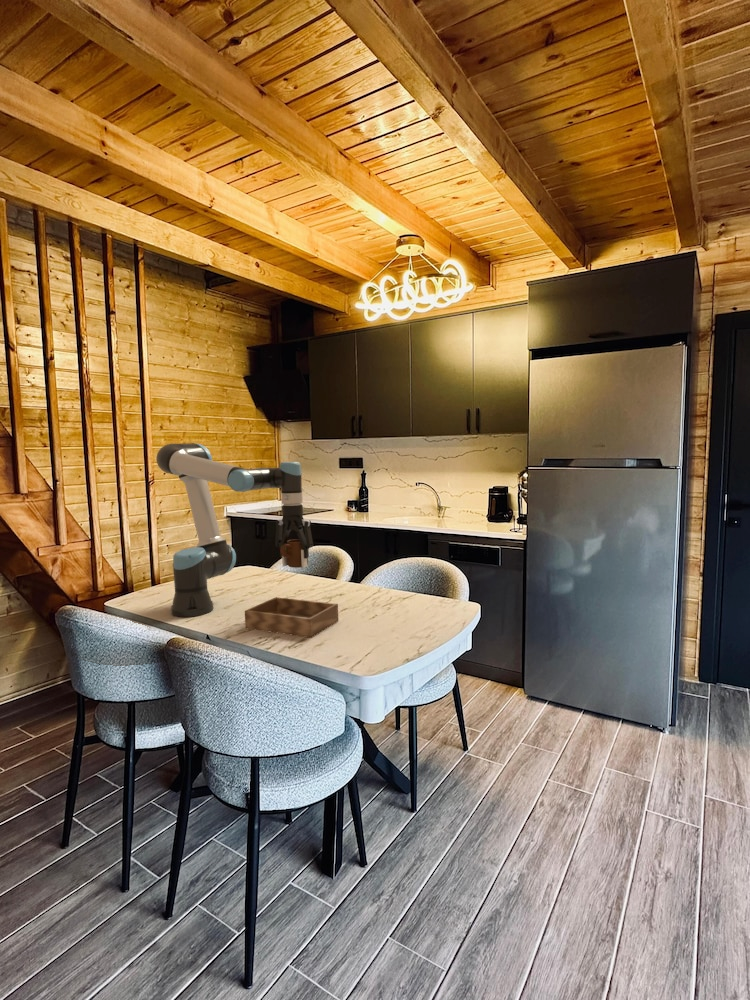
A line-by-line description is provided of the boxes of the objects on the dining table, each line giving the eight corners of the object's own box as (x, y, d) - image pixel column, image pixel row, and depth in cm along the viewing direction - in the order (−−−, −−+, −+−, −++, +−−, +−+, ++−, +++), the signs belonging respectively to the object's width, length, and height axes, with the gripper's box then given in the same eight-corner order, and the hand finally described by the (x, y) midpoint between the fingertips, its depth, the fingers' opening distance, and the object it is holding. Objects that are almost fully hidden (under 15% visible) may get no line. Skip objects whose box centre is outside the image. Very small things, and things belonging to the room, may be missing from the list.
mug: (289, 571, 191) (288, 545, 191) (274, 568, 196) (273, 543, 195) (312, 565, 201) (311, 540, 200) (297, 562, 206) (297, 538, 205)
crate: (245, 628, 183) (244, 610, 182) (276, 613, 199) (275, 597, 198) (311, 637, 172) (310, 619, 171) (338, 620, 188) (337, 603, 188)
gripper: (262, 505, 197) (265, 566, 199) (311, 505, 189) (314, 570, 191) (274, 503, 203) (277, 562, 206) (321, 503, 195) (324, 565, 198)
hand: (294, 566), depth 198 cm, fingers closed on mug, 7 cm apart
